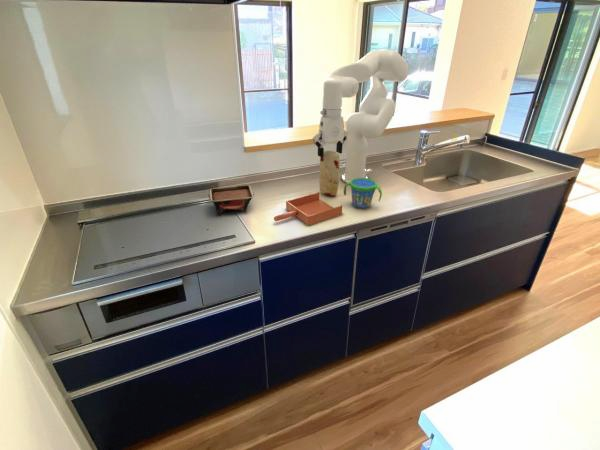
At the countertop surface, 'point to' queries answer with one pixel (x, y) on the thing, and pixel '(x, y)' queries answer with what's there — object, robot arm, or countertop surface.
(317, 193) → the scoop
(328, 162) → the food model
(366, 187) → the snack cup
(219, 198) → the baking dish
